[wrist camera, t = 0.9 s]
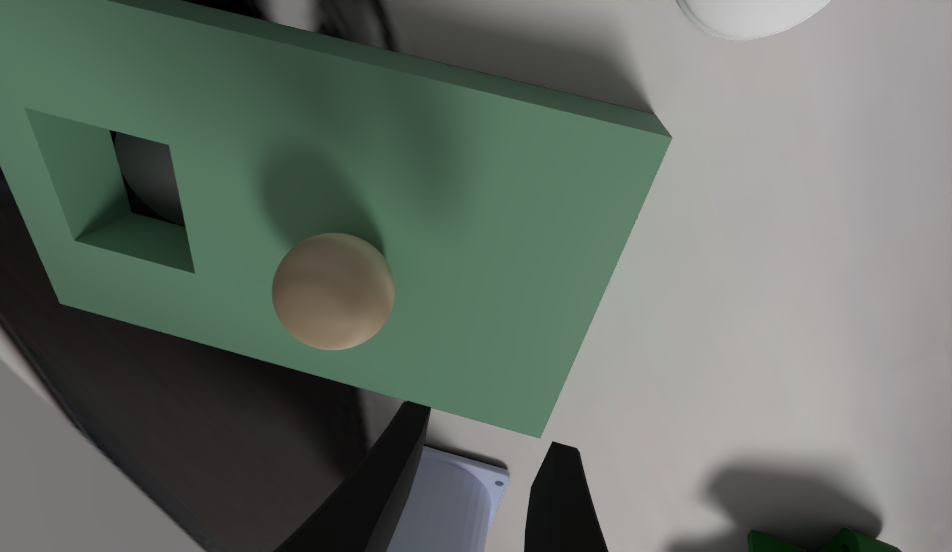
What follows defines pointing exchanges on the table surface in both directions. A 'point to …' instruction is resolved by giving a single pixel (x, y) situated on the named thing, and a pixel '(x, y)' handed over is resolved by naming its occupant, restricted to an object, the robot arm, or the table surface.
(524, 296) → the putting board
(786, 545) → the clamp
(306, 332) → the maple ball
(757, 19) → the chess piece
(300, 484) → the table surface
